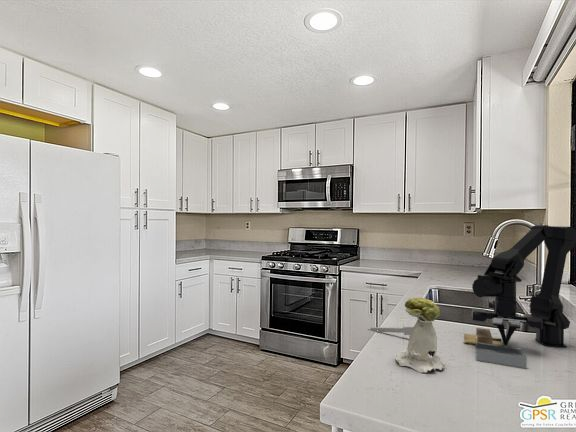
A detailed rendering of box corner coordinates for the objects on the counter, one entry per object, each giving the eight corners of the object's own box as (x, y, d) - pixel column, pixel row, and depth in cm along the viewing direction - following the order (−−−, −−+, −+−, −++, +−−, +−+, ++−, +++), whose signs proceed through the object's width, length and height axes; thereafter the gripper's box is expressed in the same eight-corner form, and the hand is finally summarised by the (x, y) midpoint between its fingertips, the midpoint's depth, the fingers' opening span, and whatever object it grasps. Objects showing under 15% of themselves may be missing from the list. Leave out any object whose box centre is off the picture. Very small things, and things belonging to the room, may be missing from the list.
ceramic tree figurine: (407, 351, 106) (407, 291, 106) (451, 363, 97) (451, 298, 97) (389, 362, 97) (389, 297, 97) (435, 377, 88) (435, 305, 89)
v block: (522, 359, 100) (522, 348, 101) (526, 368, 94) (526, 357, 94) (475, 352, 106) (475, 341, 106) (476, 360, 100) (476, 349, 100)
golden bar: (500, 344, 111) (500, 336, 111) (501, 350, 109) (501, 342, 108) (463, 339, 116) (464, 331, 115) (464, 344, 113) (464, 336, 113)
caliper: (425, 343, 114) (425, 324, 114) (424, 344, 113) (424, 325, 113) (368, 330, 127) (369, 313, 127) (367, 330, 126) (367, 313, 126)
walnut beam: (489, 341, 116) (489, 329, 116) (492, 351, 107) (492, 338, 107) (476, 339, 117) (476, 327, 117) (477, 349, 108) (477, 336, 108)
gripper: (535, 294, 113) (535, 341, 113) (471, 288, 121) (471, 333, 121) (543, 301, 103) (543, 353, 103) (472, 294, 111) (472, 343, 111)
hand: (505, 344), depth 109 cm, fingers closed
